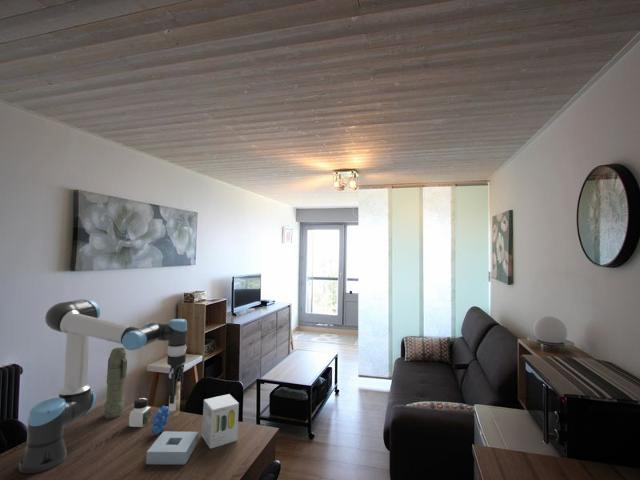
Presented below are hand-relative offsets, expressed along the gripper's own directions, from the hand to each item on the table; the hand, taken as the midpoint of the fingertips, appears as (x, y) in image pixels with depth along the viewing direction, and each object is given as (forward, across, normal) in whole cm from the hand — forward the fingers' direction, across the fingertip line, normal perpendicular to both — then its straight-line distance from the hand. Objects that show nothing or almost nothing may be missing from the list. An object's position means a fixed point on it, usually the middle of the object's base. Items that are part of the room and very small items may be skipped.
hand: (174, 407), depth 145 cm
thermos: (+19, +34, +45) cm, 59 cm away
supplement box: (+20, +12, -17) cm, 29 cm away
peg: (+3, 0, 0) cm, 3 cm away
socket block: (+19, 0, 0) cm, 19 cm away
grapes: (+19, +17, +14) cm, 29 cm away
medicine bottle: (+19, +25, +27) cm, 41 cm away
